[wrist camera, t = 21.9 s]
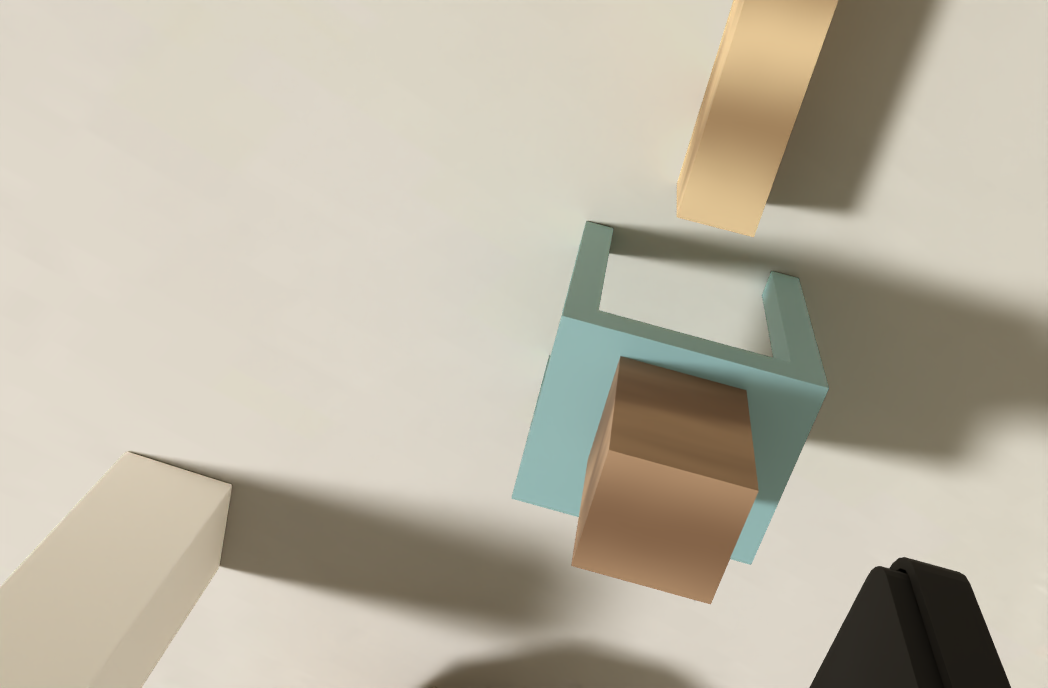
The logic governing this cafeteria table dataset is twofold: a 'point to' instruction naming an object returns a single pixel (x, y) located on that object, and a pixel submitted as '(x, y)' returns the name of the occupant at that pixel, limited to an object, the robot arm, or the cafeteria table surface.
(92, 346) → the cafeteria table surface
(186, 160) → the cafeteria table surface
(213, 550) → the milk
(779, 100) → the plank
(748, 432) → the block
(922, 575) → the robot arm
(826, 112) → the cafeteria table surface
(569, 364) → the teal stool
